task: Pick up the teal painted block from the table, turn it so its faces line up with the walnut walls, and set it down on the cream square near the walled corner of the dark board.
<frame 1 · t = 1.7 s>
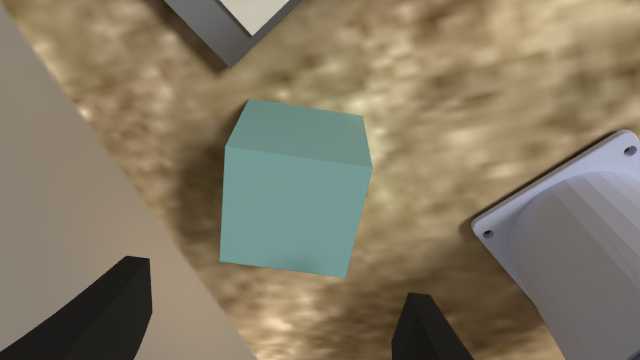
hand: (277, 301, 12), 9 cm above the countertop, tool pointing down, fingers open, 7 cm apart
teal block: (299, 156, 20), on the countertop
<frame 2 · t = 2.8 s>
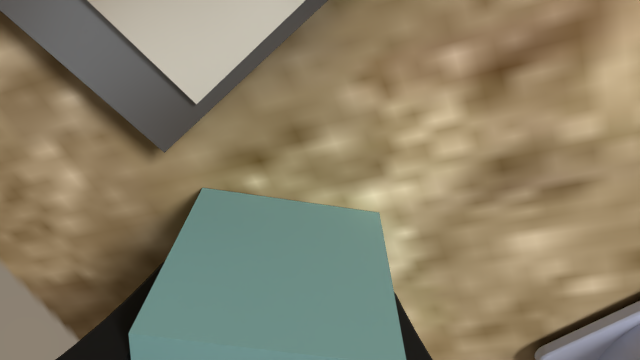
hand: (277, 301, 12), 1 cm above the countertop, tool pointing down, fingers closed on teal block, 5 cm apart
teal block: (282, 267, 13), on the countertop, touching gripper
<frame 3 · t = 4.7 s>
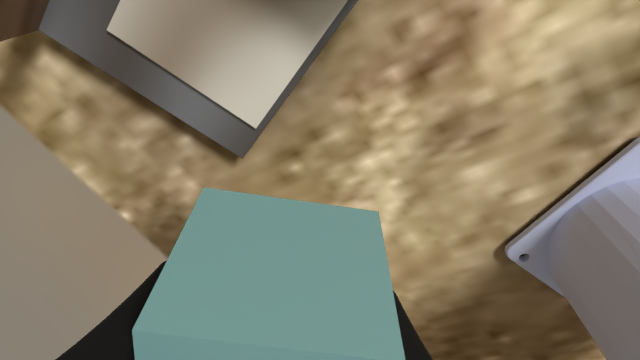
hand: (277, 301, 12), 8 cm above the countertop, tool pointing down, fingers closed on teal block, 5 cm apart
teal block: (282, 266, 13), point 7 cm above the countertop, touching gripper
when the fingers open (5 cm above the countertop, at t = 6.8 s): teal block drops 2 cm, resting on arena.
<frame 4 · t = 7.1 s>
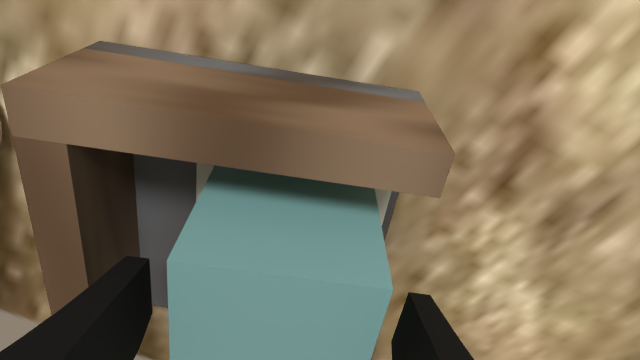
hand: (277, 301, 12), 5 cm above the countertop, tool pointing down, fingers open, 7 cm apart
teal block: (287, 230, 15), point 1 cm above the countertop, touching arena
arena: (251, 200, 16), on the countertop
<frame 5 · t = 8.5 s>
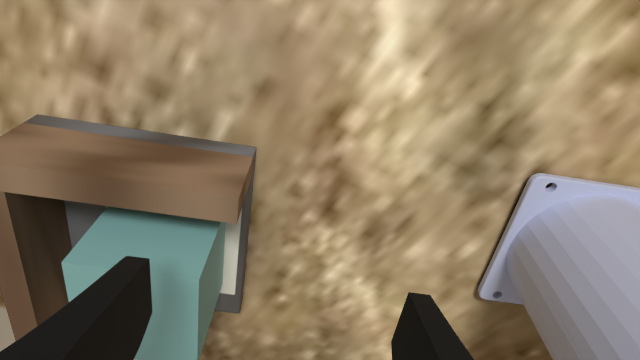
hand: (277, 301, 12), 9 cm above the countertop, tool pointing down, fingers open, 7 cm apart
teal block: (174, 241, 21), point 1 cm above the countertop, touching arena
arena: (152, 219, 22), on the countertop
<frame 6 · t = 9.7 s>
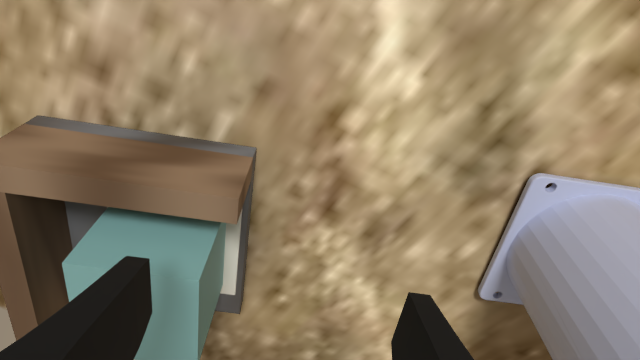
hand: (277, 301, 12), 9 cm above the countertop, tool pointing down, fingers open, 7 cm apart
teal block: (174, 241, 21), point 1 cm above the countertop, touching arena
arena: (152, 219, 22), on the countertop
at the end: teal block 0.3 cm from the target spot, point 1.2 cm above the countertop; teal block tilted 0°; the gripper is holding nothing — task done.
